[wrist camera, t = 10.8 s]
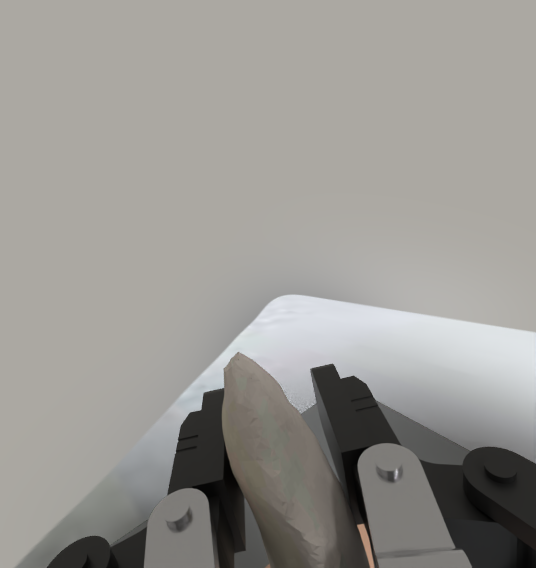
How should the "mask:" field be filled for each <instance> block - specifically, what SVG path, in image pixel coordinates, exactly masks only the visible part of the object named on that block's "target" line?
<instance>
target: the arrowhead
mask: <svg viewBox="0 0 536 568" xmlns="http://www.w3.org/2000/svg"><path fill="white" fill-rule="evenodd" d="M222 430H223V435H224V441H225V446H226V450H227V454H228V458H229V461H230V466H231V469H232V473H233V475H234V477H235V479H236V481H237V483H238V485H239V487H240V489H241V491H242V493H243V495H244V497H245V499H246V501H247V502H248V504H249V506H250V508H251V510H252V513H253V515H254V517H255V520H256V522H257V524H258V527H259V530H260V533H261V537H262V540H263V544H264V547H265V551H266V554H267V557H268V561H269V564H270V568H370V565H369V561H368V557H367V554H366V551H365V548H364V544H363V541H362V538H361V535H360V532H359V529H358V527H357V524H356V522H355V519H354V517H353V515H352V512H351V510H350V507H349V505H348V503H347V500H346V497H345V494H344V491H343V488H342V485H341V483H340V482H339V480H338V479H337V477H336V475H335V474H334V472H333V470H332V468H331V466H330V464H329V462H328V460H327V458H326V456H325V454H324V452H323V450H322V448H321V446H320V444H319V441H318V440H317V438H316V436H315V435H314V433H313V432H312V431H311V429H310V428H309V427H308V425H307V424H306V422H305V421H304V419H303V418H302V416H301V414H300V413H299V412H298V410H297V409H296V408H295V407H294V406H293V405H291V404H290V403H289V401H288V399H287V397H286V395H285V394H284V392H283V390H282V388H281V386H280V385H279V384H278V383H277V381H276V380H275V379H274V378H273V377H272V376H271V375H270V374H269V373H267V372H266V371H265V370H264V369H263V368H262V367H260V366H259V365H258V364H257V363H256V362H254V361H253V360H252V359H250V358H248V357H247V356H245V355H243V354H241V353H240V352H238V353H237V354H236V355H235V356H234V357H233V358H231V360H230V362H229V363H228V365H227V366H226V367H225V368H224V400H223V406H222Z"/></svg>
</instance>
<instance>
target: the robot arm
mask: <svg viewBox="0 0 536 568" xmlns="http://www.w3.org/2000/svg"><path fill="white" fill-rule="evenodd" d="M310 370H311V377H312V382H313V387H314V392H315V397H316V402H317V408H318V412H319V417H320V421H321V424H322V428H323V431H324V434H325V437H326V441H327V444H328V447H329V450H330V453H331V456H332V459H333V462H334V465H335V468H336V472H337V475H338V478H339V481H340V483H341V485H342V488H343V491H344V494H345V497H346V500H347V503H348V505H349V507H350V510H351V512H352V515H353V517H354V519H355V522H356V524H357V525H360V524H364V526H365V529H366V532H367V534H368V537H369V542H370V548H371V554H372V559H373V564H374V568H536V464H535V463H533V462H531V461H530V460H528V459H526V458H524V457H522V456H520V455H518V454H516V453H514V452H512V451H509V450H506V449H502V448H497V447H482V448H477V449H475V450H472V451H471V452H469V453H468V454H467V455H466V456H465V458H464V460H463V465H450V464H435V463H430V462H426V461H423V460H420V459H418V458H417V456H416V455H415V454H414V453H413V452H412V451H410V450H409V449H407V448H405V447H403V446H402V445H401V444H400V442H399V440H398V439H397V437H396V435H395V433H394V432H393V430H392V428H391V426H390V425H389V423H388V421H387V419H386V418H385V416H384V414H383V412H382V411H381V409H380V407H379V406H378V404H377V402H376V400H375V399H374V398H373V395H372V393H371V392H370V390H369V388H368V386H367V385H366V384H365V383H364V382H362V381H361V380H359V379H358V378H356V377H355V376H351V377H346V378H342V379H340V377H339V374H338V372H337V370H336V368H335V366H334V364H329V365H325V366H320V367H316V368H312V369H310ZM223 400H224V388H222V389H218V390H213V391H209V392H205V393H204V395H203V402H202V410H200V411H196V412H191V413H189V415H188V416H187V418H186V419H185V421H184V422H183V424H182V425H181V428H180V433H179V438H178V441H179V442H178V443H177V448H176V454H175V458H174V463H173V469H172V474H171V479H170V484H169V489H168V494H167V496H166V497H165V498H164V499H163V500H161V501H160V502H159V503H158V504H157V506H156V507H155V508H154V510H153V511H152V513H151V515H150V517H149V520H148V525H147V527H145V528H144V529H143V530H141V531H140V532H138V533H136V534H134V535H133V536H131V537H129V538H127V539H125V540H123V541H121V542H119V543H118V544H116V545H114V546H112V547H110V545H109V543H108V542H107V540H105V539H104V538H102V537H100V536H89V537H85V538H82V539H80V540H78V541H76V542H74V543H72V544H71V545H69V546H68V547H66V548H65V549H64V550H62V551H61V552H60V553H59V554H58V555H57V556H56V557H55V558H54V559H53V561H52V562H51V563H50V564H49V565H48V567H47V568H234V553H238V552H242V551H246V536H245V503H244V495H243V493H242V491H241V489H240V487H239V485H238V483H237V481H236V479H235V477H234V475H233V473H232V469H231V466H230V461H229V458H228V454H227V450H226V446H225V441H224V435H223V430H222V406H223Z"/></svg>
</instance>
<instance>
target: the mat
mask: <svg viewBox="0 0 536 568" xmlns="http://www.w3.org/2000/svg"><path fill="white" fill-rule="evenodd" d="M376 402H377V404H378V406H379V407H380V409H381V411H382V412H383V414H384V416H385V418H386V419H387V421H388V423H389V425H390V426H391V428H392V430H393V432H394V433H395V435H396V437H397V439H398V440H399V442H400V444H401V445H402V446H403V447H405V448H407V449H409V450H410V451H412V452H413V453H414V454H415V455H416V456H417V458H418V459H420V460H423V461H426V462H430V463H435V464H450V465H463V460H464V458H465V456H466V455H467V454H468V453H469V452H471V451H469V450H467V449H465V448H464V447H462V446H460V445H458V444H456V443H454V442H452V441H450V440H449V439H447V438H445V437H443V436H441V435H439V434H437V433H436V432H434V431H432V430H430V429H428V428H426V427H424V426H423V425H421V424H419V423H417V422H415V421H413V420H411V419H409V418H408V417H406V416H404V415H402V414H400V413H398V412H396V411H395V410H393V409H391V408H389V407H387V406H385V405H383V404H382V403H380V402H378V401H376ZM301 416H302V418H303V419H304V421H305V422H306V424H307V425H308V427H309V428H310V429H311V431H312V432H313V433H314V435H315V436H316V438H317V440H318V441H319V444H320V446H321V448H322V450H323V452H324V454H325V456H326V458H327V460H328V462H329V464H330V466H331V468H332V470H333V472H334V474H335V475H336V477H337V479H338V480H339V478H338V475H337V472H336V468H335V465H334V462H333V459H332V456H331V453H330V450H329V447H328V444H327V441H326V437H325V434H324V431H323V428H322V424H321V421H320V417H319V412H318V408H317V403H316V404H315V405H314V406H312V407H311V408H309V409H308V410H306V411H305V412H303V413H302V414H301ZM339 482H340V481H339ZM244 503H245V536H246V551H242V552H238V553H234V568H270V564H269V561H268V557H267V554H266V551H265V547H264V544H263V540H262V537H261V533H260V530H259V527H258V524H257V522H256V520H255V517H254V515H253V513H252V510H251V508H250V506H249V504H248V502H247V501H246V499H245V497H244ZM148 520H149V519H148ZM148 520H146V521H145V522H144V523H142V524H141V525H139V526H138V527H136V528H135V529H133V530H132V531H130V532H129V533H128V534H126V535H125V536H123V537H122V538H120V539H119V540H117V541H116V542H114V543H113V544H112V545H110V547H112V546H114V545H116V544H118V543H119V542H121V541H123V540H125V539H127V538H129V537H131V536H133V535H134V534H136V533H138V532H140V531H141V530H143V529H144V528H145V527H147V525H148ZM357 527H358V529H359V532H360V535H361V538H362V541H363V544H364V548H365V551H366V554H367V557H368V561H369V565H370V568H374V564H373V559H372V554H371V548H370V542H369V537H368V534H367V532H366V529H365V526H364V524H360V525H357Z"/></svg>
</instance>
